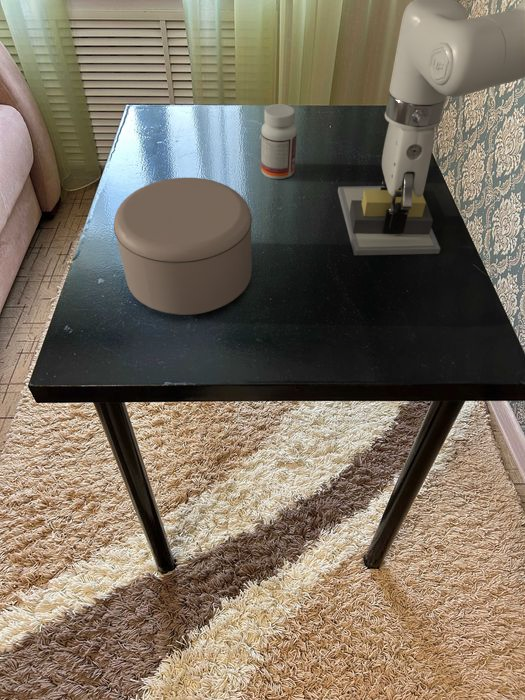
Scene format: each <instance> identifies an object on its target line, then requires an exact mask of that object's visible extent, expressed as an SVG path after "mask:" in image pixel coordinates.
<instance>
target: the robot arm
mask: <svg viewBox="0 0 525 700" xmlns="http://www.w3.org/2000/svg"><path fill="white" fill-rule="evenodd" d="M467 13H468V11H467V10H466V7H465V6H464V5H463V4H462V3H461V2H459V1H457V0H411V1H410V2H409V3H408V4H407V5H406V7H405V9H404V11H403V14H402V18H401V24H400V29H399V33H398V39H397V45H396V50H395V55H394V62H393V68H392V72H391V79H390V84H389V88H388V94H387V101H386V105H385V111H384V119H385V120H386V122H388V125H387V130H386V135H385V139H384V144H383V150H382V156H381V169H382V175H383V177H382V180H381V181H382V182H381V186H385V187H381V189H380V190H388V192H389V194H390V195H391V198H390V205H389V210H386V215H385V220H384V224H383V229H382V231H383V233H384V234H402V233H403V232H404V228H405V224H406V220H407V216H408V213H409V210H410V209H411V207H412V191H414V194H415V196H418V197H420V196H422V194H423V195H424V191H425V187H426V182H427V178H428V173H429V168H430V164H431V159H432V153H433V148H434V147H433V146H434V139H435V130H436V129H435V128H437V127H439V125H440V124H441V121H442V117H443V113H444V108H445V105H446V101H447V98H448V97H450V98H452V97H453V98H456V97H457V98H458V97H462V96H466V95H470V94H473V93H477V92H481V91H484V90H487V89H490V88H493V87H497V86H501V85H505V84H509V83H513V82H516V81H519V80H521V79H524V78H525V0H523V1H522V2H521V3H519V4H518V5H517V6H516V7H514V8H513V9H511V10H507V11H501V12H495V13H491V14H486V15H480V16H478V17H471V18H468V14H467ZM401 188H402V189H401ZM396 190H402V191H396ZM396 197H402V199H401V202H400V203H396V204H395V200H396Z"/></svg>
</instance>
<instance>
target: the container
mask: <svg viewBox="0 0 525 700" xmlns="http://www.w3.org/2000/svg"><path fill="white" fill-rule="evenodd" d="M252 217H253V216H252V213H251V209H250V207H249V205H248V203H247V201H246V200H245V198H244V197H243V196H242V195H241V194H240V193H239V192H238V191H237V190H235V189H234V188H232V187H231V186H228V185H226V184H224V183H221V182H219V181H215V180H211V179H207V178H200V177H174V178H167V179H163V180H158V181H155V182H151V183H149V184H147V185H144V186H142V187H140V188H138V189H136V190H135V191H134V192H132V193H130V194H129V195H128V196H127V197H126V198H124V200H123V201H122V202H121V203H120V205H119V206H118V208H117V210H116V212H115V215H114V220H113V233H114V235H115V238H116V242H117V247H118V251H119V255H120V259H121V263H122V268H123V272H124V276H125V279H126V284H127V288H128V290H129V292H130V293H131V294H132V296H133V297H134V298H135V300H137V301H139V302H140V303H141V304H143V305H144V306H146V307H148V308H151V309H152V310H155V311H158V312H161V313H166V314H172V315H184V316H188V315H198V314H199V315H200V314H204V313H208V312H211V311H214V310H217V309H219V308H222V307H224V306H226V305H228V304H229V303H231V302H233V301H234V300H235V299H237V298H238V297H239V296H241V294H242V293H243V292H244V291H245V290H246V289H247V287H248V285H249V283H250V281H251V279H252V272H253V271H252V268H253V267H252V266H253V263H252V262H253V261H252V221H253V220H252V219H253V218H252Z"/></svg>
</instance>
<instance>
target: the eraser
mask: <svg viewBox="0 0 525 700" xmlns="http://www.w3.org/2000/svg"><path fill="white" fill-rule="evenodd" d="M396 191H402V190H396ZM390 198H391V195H390V194H389V192H388V190H364V192H363V198H362V200H352V201H351V207H350V219H351V225H352V230H353V233H367V234H384V233H383V231H382V229H383V224H384V220H385V215H386V210H389V205H390ZM401 199H402V197H396V200H395V204H396V203H400V202H401ZM433 222H434V219H433V217H432V213H431V211H430V208H429V205H428V202H427V201H426V199H425V197H424V193H423V194H422V196H420V197H418V196H415V194H414V191H412V207H411V209H410V210H409V213H408V216H407V220H406V224H405V228H404V232H403V233H402V234H429V233H430V230H431V228H432V227H433Z"/></svg>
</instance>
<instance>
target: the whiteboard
mask: <svg viewBox="0 0 525 700" xmlns="http://www.w3.org/2000/svg"><path fill="white" fill-rule="evenodd" d="M381 187H385V186H382V185H367V186H365V185H364V186H361V185H360V186H359V185H358V186H338V188H337V194H338V198H339V201H340V202H339V203H340V206H341V210H342V214H343V219H344V221H345V225H346V229H347V234H348V237H349V241H350V245H351V248H352V249H351V250H352V254H353V256H391V255H394V256H397V255H399V256H400V255H437V254H438V255H439V254H440V252H441V246H440V245H439V244H440V243H439V242H438V240H437V237H436V235H435V233H434V230H433V228H432V227H431V230H430V233H429V234H367V233H353V230H352V225H351V219H350V207H351V201H352V200H362V198H363V192H364V190H380V189H381ZM401 189H402V188H401Z"/></svg>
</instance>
